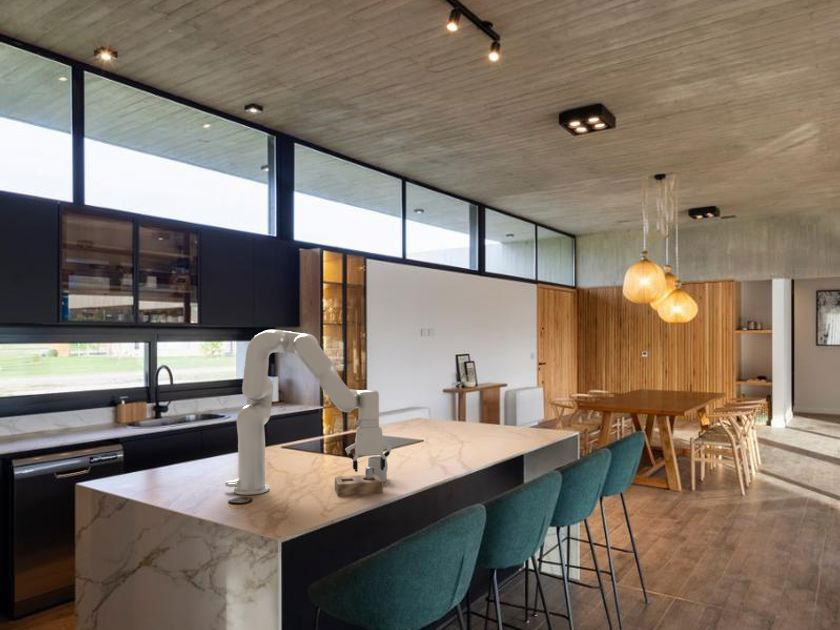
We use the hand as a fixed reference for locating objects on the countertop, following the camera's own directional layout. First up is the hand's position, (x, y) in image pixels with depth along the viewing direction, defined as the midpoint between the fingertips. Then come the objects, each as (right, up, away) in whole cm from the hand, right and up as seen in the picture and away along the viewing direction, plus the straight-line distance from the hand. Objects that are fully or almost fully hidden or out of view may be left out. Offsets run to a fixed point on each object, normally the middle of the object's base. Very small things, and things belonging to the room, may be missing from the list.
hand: (369, 470), depth 226 cm
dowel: (0, -6, 0) cm, 6 cm away
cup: (+3, -8, +14) cm, 16 cm away
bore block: (-4, -7, -1) cm, 8 cm away
